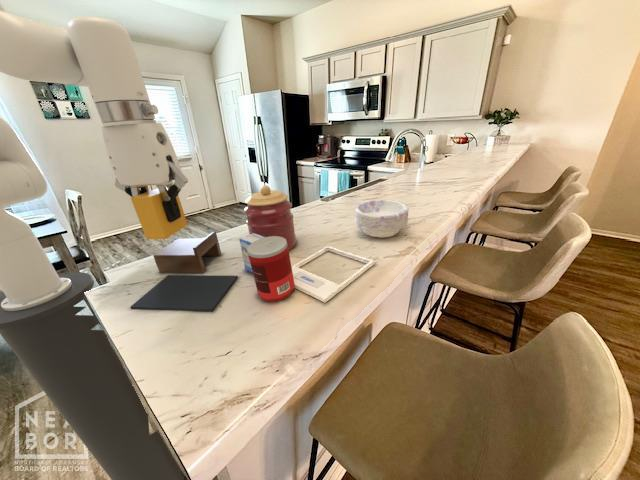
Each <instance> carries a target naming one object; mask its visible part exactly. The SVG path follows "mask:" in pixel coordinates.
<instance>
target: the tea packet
mask: <svg viewBox="0 0 640 480" xmlns="http://www.w3.org/2000/svg"><path fill="white" fill-rule="evenodd" d="M166 188H167V187H166ZM167 190H168V188H167ZM176 199H177V203H178V206H179V209H180V213H181V217H180V218H179V219H177V220H175V221H173V222H169V221H168V219H167V217H166V214H165V211H164V208H163V205H162V202H163V201H165V200H164V199H163V197H162V195H161V193H160V191H159V190H158V188H157V187H156V188H154V189H151V190H149V191H148V192H145V193H143V194H140V195H137V196H134V197H130V200H131V203H132V205H133V207H134V211H135V213H136V216H137V218H138V221H139V222H140V223H139V224H140V226H141V228H142V231H143V233H144V236H145V239H146V240H166V239H168V238H170V237H171V236H173V235H174V234H176V233H178V232H180V231H181V230H182V229H184V228H186V227H188V222H187V218H186V214H185V212H184V209H183V206H182V203H181V199H180V196H179V195H178V197H176Z"/></svg>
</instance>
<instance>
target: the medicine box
mask: <svg viewBox="0 0 640 480" xmlns="http://www.w3.org/2000/svg"><path fill="white" fill-rule="evenodd" d="M261 238H264V237H263V236H261V235H258V234H255V233H252V234H249V233H248V234H247V235H244V236H242V237H240V238H239V239H238V240H239V245H240V250H241V255H242V259H243V265H244V269H245V271H247V272H248V273H251V274H253V272H252V268H251V264H250V260H249V256H248V251H247V248H248V246H249V245H250V244H251V243H253V242H254V241H256V240H258V239H261Z"/></svg>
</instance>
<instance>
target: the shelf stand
mask: <svg viewBox="0 0 640 480" xmlns="http://www.w3.org/2000/svg"><path fill="white" fill-rule="evenodd" d="M221 255H222V250H221V246H220V243H219V238H218V235H217V231H215V230H214V231H212V232H210V233H209V234H208V235H207V236H206V237H201V238H200V237H198V238H197V237H195V238H192V237H191V238H190V237H189V238H176V239H175V240H174V241H172V242H171V243H169V244H168V245H166V246H164V247H163V248H162V249H160V250H159V251H157V252H156V253H154V254H153V255H152V256H153V259H154V261H155V263H156V267H157V269H158V270H157V271H158V273H163V274H165V273H167V274H169V273H170V274H203V273H205V272H206V268H205V264H204V261H203V257H220V256H221Z"/></svg>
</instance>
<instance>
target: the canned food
mask: <svg viewBox="0 0 640 480" xmlns="http://www.w3.org/2000/svg"><path fill="white" fill-rule="evenodd" d="M247 251H248V256H249V260H250V264H251V268H252V272H253V273H252V275H253V279H254V284H255V287H256V291H257V294H258V296H259V297H260V298H261V300H263V301H266V302H279V301H282V300H284V299H286V298H288V297H289V296H290V295H291V294H292V293H293V291H294V289H295V288H294V279H293V273H292V267H291V266H292V262H291V256H290V250H289V249H288V244H287V241H286V239H285V238H283V237H279V236H270V237H264V238H261V239H258V240H256V241H254V242H253V243H251V244H250V245H249V246H248V248H247Z"/></svg>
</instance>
